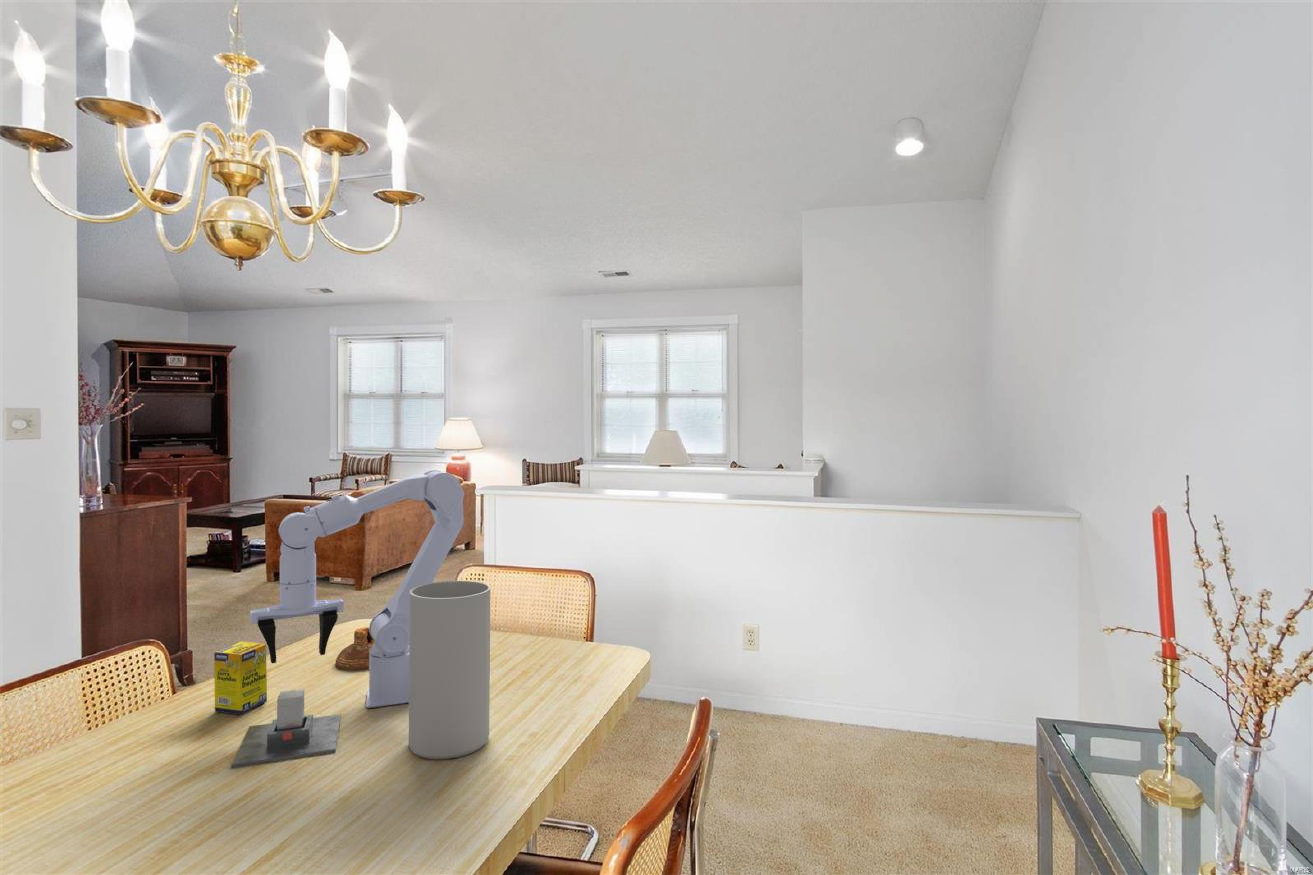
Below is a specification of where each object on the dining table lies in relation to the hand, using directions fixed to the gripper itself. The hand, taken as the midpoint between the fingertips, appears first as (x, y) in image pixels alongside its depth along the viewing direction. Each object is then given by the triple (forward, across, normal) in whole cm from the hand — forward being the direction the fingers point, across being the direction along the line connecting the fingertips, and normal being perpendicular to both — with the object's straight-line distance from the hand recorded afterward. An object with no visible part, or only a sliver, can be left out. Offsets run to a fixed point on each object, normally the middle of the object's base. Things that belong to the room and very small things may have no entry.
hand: (298, 657), depth 119 cm
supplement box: (+10, +8, -9) cm, 16 cm away
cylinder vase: (+11, -19, +26) cm, 33 cm away
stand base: (+10, +2, +10) cm, 15 cm away
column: (+10, +2, +10) cm, 15 cm away
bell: (+11, -16, -23) cm, 30 cm away
